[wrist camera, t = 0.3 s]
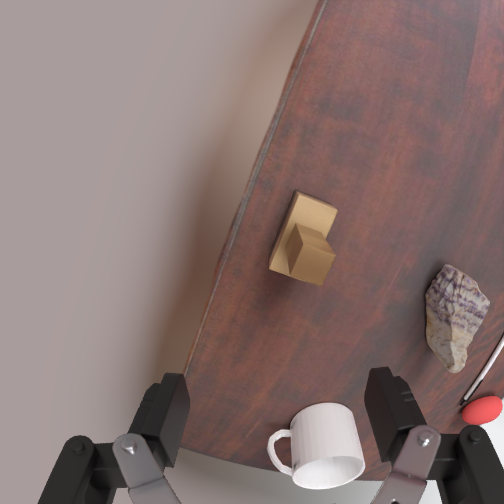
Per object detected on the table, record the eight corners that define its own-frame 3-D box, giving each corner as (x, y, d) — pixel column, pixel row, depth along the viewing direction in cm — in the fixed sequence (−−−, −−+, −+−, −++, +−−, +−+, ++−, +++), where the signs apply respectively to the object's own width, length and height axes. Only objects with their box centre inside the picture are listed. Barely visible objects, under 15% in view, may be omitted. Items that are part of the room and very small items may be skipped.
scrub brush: (295, 189, 28) (308, 207, 19) (330, 203, 28) (358, 228, 19) (268, 255, 30) (268, 301, 21) (302, 268, 31) (315, 316, 22)
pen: (458, 403, 37) (460, 407, 36) (519, 302, 31) (523, 306, 30) (461, 403, 37) (464, 407, 36) (521, 303, 31) (526, 307, 30)
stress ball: (477, 380, 37) (475, 411, 32) (509, 393, 34) (509, 422, 30) (460, 395, 40) (456, 424, 36) (492, 407, 37) (490, 435, 33)
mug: (362, 402, 36) (377, 454, 28) (339, 440, 39) (348, 488, 30) (277, 396, 36) (278, 453, 27) (263, 435, 39) (261, 486, 30)
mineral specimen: (467, 333, 32) (490, 359, 27) (424, 351, 33) (443, 381, 28) (470, 247, 29) (501, 266, 23) (421, 264, 30) (449, 288, 24)
